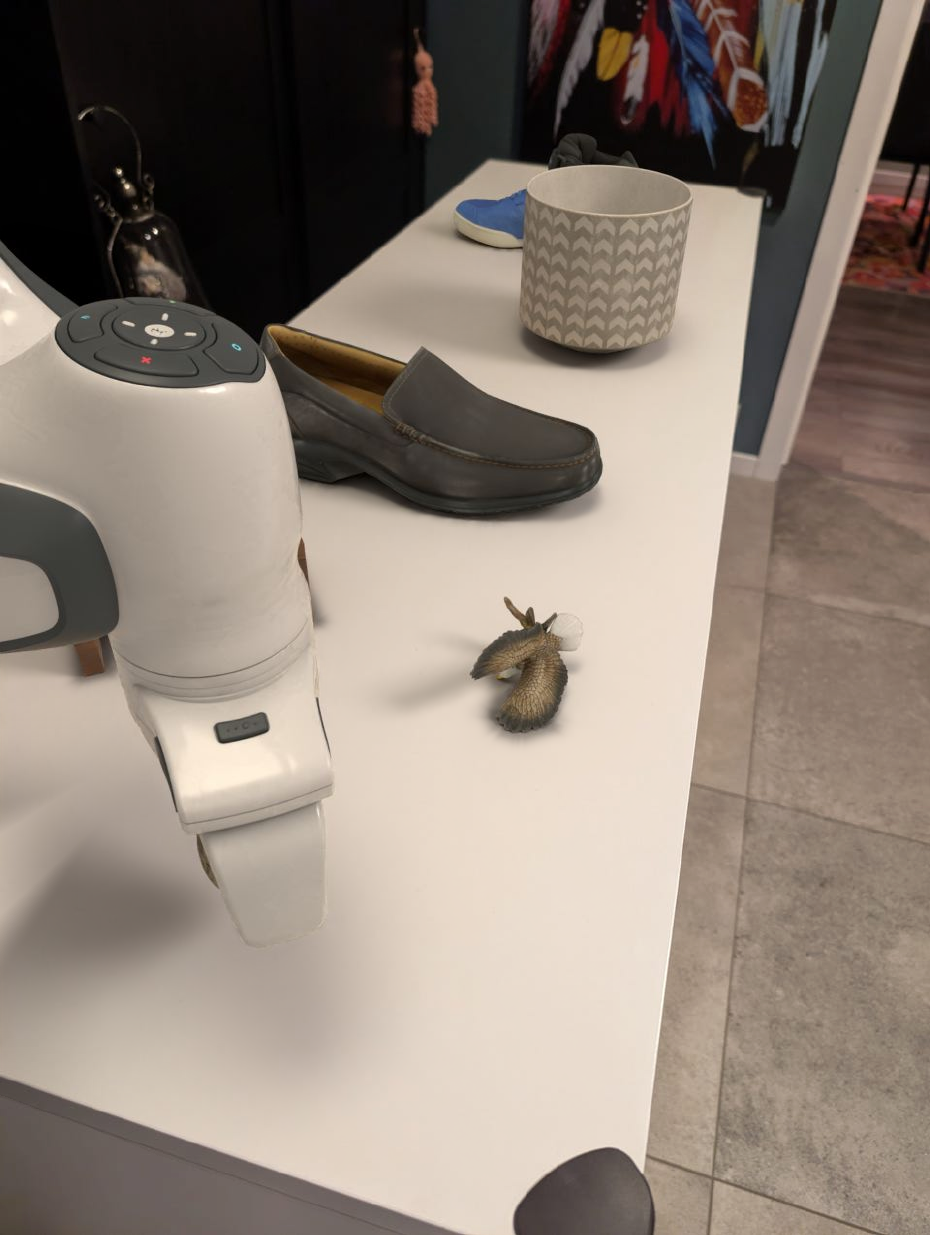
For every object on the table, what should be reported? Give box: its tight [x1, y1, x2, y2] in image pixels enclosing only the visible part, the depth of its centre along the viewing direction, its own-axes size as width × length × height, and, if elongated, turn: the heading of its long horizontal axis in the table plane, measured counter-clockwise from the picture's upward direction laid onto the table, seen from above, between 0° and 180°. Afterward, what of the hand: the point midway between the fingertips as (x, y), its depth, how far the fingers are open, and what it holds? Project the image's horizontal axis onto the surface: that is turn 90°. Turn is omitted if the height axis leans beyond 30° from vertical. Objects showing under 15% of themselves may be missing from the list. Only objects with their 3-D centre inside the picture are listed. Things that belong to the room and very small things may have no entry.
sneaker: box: [452, 132, 640, 249], centre depth 142 cm, size 12×29×16 cm, turn 71°
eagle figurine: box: [469, 596, 584, 734], centre depth 71 cm, size 8×7×9 cm
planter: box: [519, 165, 694, 354], centre depth 115 cm, size 19×19×18 cm
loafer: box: [258, 323, 604, 516], centre depth 92 cm, size 13×36×13 cm, turn 76°
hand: (253, 841), depth 53 cm, fingers closed on decorative egg, 6 cm apart
